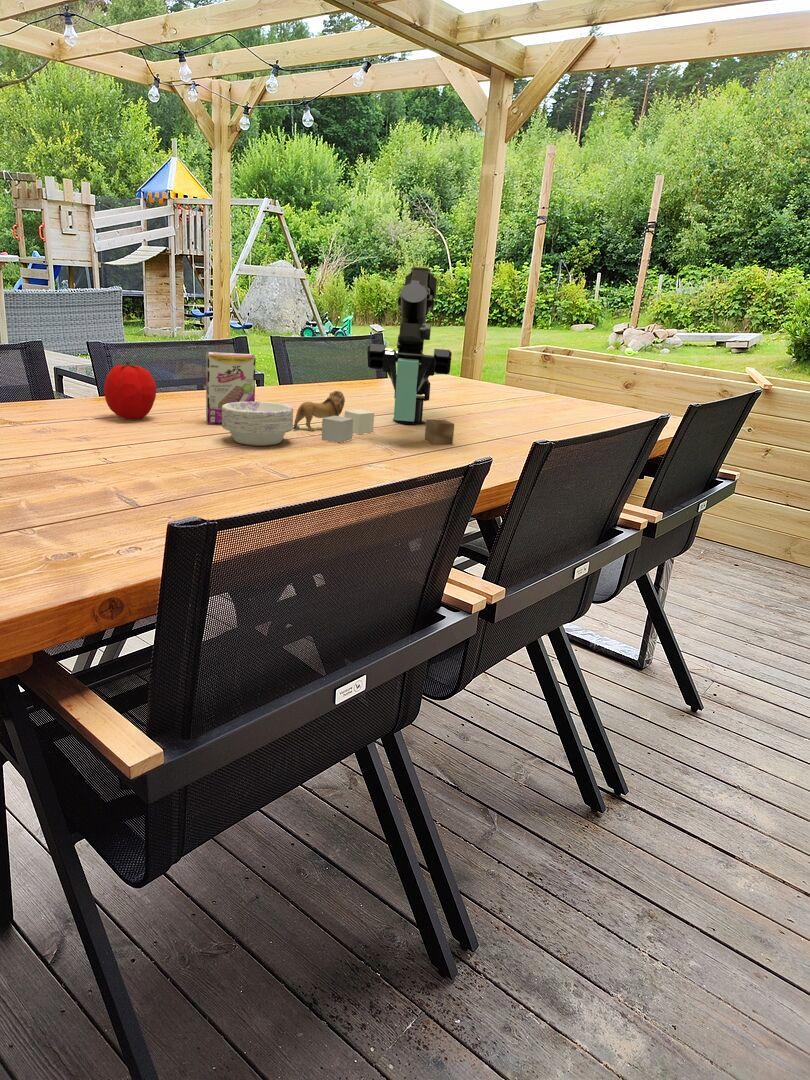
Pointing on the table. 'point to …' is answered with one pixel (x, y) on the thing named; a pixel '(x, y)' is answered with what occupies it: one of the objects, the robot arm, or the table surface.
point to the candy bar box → (228, 382)
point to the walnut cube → (439, 432)
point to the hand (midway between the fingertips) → (406, 389)
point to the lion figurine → (320, 409)
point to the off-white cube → (361, 420)
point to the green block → (406, 389)
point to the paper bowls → (257, 422)
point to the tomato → (130, 391)
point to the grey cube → (337, 428)
